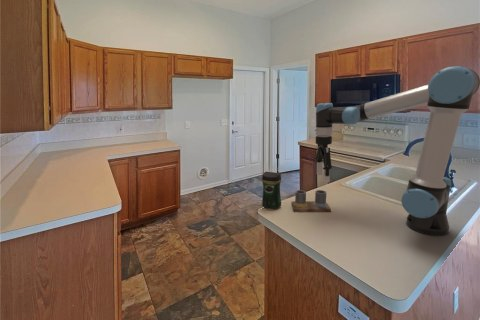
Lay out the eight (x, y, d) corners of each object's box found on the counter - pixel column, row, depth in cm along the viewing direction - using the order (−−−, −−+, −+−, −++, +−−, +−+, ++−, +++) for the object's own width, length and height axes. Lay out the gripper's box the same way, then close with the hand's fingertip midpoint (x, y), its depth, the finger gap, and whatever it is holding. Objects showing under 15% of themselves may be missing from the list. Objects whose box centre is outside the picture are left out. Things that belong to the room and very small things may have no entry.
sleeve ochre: (308, 205, 137) (308, 192, 135) (300, 207, 134) (300, 194, 132) (300, 201, 141) (300, 189, 140) (292, 204, 138) (292, 191, 137)
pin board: (325, 203, 142) (326, 191, 141) (330, 211, 132) (331, 198, 131) (291, 204, 143) (291, 192, 142) (294, 211, 133) (294, 199, 132)
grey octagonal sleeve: (328, 205, 136) (329, 192, 135) (320, 207, 133) (321, 194, 132) (319, 201, 141) (320, 189, 139) (312, 204, 138) (312, 191, 136)
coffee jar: (282, 205, 142) (283, 171, 138) (277, 210, 135) (277, 175, 131) (265, 202, 146) (266, 169, 142) (260, 207, 140) (259, 173, 135)
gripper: (310, 133, 141) (309, 172, 146) (322, 139, 117) (321, 186, 121) (324, 132, 141) (323, 171, 145) (339, 138, 117) (338, 185, 121)
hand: (322, 178), depth 133 cm, fingers open, 13 cm apart
